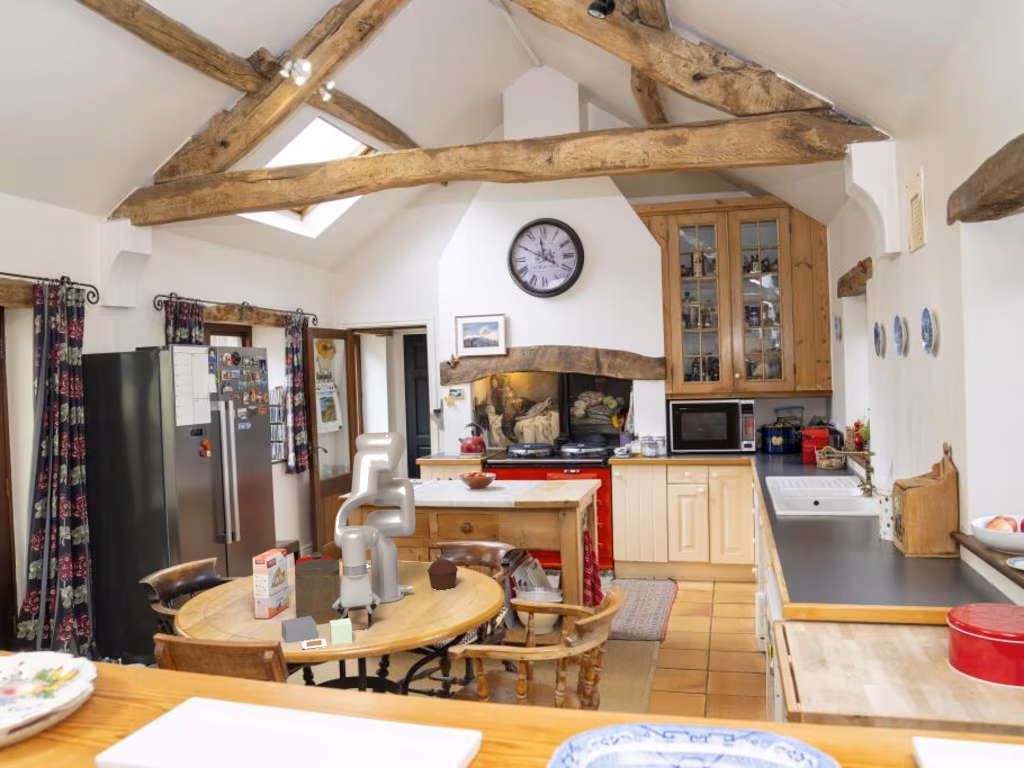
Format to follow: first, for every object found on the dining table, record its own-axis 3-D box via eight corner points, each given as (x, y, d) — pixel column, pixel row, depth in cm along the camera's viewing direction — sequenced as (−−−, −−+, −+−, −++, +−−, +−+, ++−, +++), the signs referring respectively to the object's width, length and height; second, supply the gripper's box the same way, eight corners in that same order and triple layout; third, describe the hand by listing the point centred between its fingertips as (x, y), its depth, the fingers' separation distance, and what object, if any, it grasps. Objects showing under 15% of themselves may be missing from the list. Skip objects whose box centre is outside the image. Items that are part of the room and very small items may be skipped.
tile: (325, 639, 241) (325, 637, 241) (326, 646, 234) (326, 645, 234) (301, 642, 239) (301, 641, 239) (302, 650, 232) (302, 648, 232)
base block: (311, 631, 250) (310, 615, 250) (317, 639, 242) (316, 623, 242) (282, 636, 246) (281, 620, 246) (286, 645, 238) (286, 628, 238)
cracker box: (270, 619, 264) (267, 557, 264) (254, 619, 265) (250, 557, 265) (290, 607, 278) (287, 547, 278) (274, 606, 279) (271, 548, 279)
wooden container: (349, 611, 269) (346, 547, 269) (329, 625, 255) (326, 557, 254) (309, 610, 272) (306, 547, 272) (288, 624, 258) (284, 557, 258)
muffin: (461, 589, 290) (459, 562, 289) (431, 593, 287) (429, 565, 287) (455, 581, 301) (454, 555, 301) (426, 585, 298) (425, 558, 298)
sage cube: (350, 637, 242) (349, 618, 242) (352, 643, 236) (351, 623, 236) (330, 640, 240) (329, 620, 240) (332, 646, 234) (331, 626, 234)
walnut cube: (366, 624, 254) (365, 605, 254) (368, 629, 248) (367, 610, 248) (347, 626, 252) (346, 608, 252) (349, 632, 247) (348, 613, 246)
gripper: (380, 564, 256) (383, 619, 256) (326, 570, 251) (329, 627, 251) (383, 569, 249) (386, 626, 249) (327, 576, 244) (330, 634, 244)
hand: (357, 626), depth 250 cm, fingers closed on walnut cube, 6 cm apart
